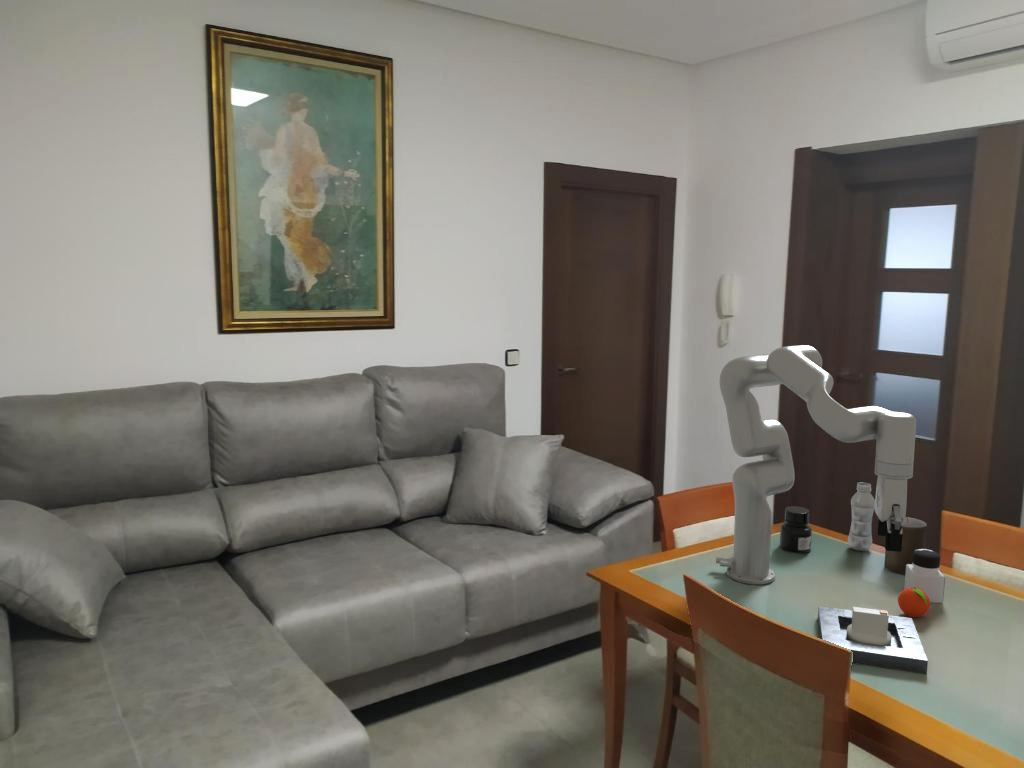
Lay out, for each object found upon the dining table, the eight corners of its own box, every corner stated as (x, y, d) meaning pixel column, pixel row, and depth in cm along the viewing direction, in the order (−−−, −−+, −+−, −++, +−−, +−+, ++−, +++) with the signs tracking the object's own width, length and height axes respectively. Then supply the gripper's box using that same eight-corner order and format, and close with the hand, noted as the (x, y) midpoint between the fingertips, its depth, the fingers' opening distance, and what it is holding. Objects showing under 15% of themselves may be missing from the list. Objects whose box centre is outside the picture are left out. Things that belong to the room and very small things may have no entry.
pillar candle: (921, 578, 204) (926, 525, 202) (881, 571, 209) (885, 518, 207) (924, 567, 212) (928, 515, 210) (885, 560, 217) (889, 509, 215)
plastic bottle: (842, 545, 228) (847, 481, 225) (864, 545, 228) (869, 480, 225) (854, 553, 221) (858, 487, 218) (876, 553, 222) (881, 487, 219)
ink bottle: (807, 556, 220) (809, 517, 218) (775, 550, 224) (777, 511, 222) (814, 546, 228) (816, 507, 226) (784, 540, 232) (786, 503, 231)
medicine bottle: (943, 603, 189) (947, 558, 187) (912, 601, 190) (916, 556, 188) (933, 591, 196) (937, 547, 194) (903, 589, 197) (907, 545, 195)
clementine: (939, 623, 179) (941, 594, 178) (912, 625, 178) (915, 597, 177) (916, 608, 187) (918, 580, 185) (890, 610, 185) (892, 582, 184)
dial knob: (848, 644, 166) (850, 615, 165) (844, 626, 175) (846, 598, 174) (893, 651, 163) (896, 621, 162) (888, 632, 172) (890, 604, 171)
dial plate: (822, 658, 163) (823, 644, 163) (817, 617, 182) (818, 605, 181) (926, 674, 157) (927, 659, 156) (910, 630, 175) (911, 617, 175)
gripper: (869, 458, 176) (865, 529, 179) (881, 477, 160) (876, 555, 162) (904, 460, 174) (900, 531, 176) (921, 480, 157) (915, 558, 160)
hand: (889, 543), depth 169 cm, fingers open, 9 cm apart
